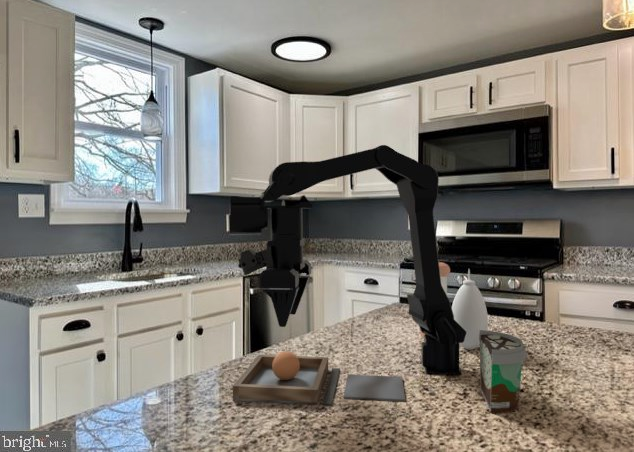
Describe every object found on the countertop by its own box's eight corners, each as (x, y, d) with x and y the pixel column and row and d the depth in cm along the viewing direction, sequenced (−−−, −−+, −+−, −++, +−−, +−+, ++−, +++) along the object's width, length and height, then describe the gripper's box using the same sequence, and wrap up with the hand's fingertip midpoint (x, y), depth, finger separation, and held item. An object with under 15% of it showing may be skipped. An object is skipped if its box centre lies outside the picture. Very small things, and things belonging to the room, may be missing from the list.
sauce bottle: (476, 356, 93) (476, 272, 92) (443, 348, 99) (443, 268, 98) (493, 348, 98) (494, 268, 97) (462, 341, 104) (462, 266, 103)
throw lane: (400, 372, 84) (400, 360, 84) (406, 409, 68) (406, 394, 68) (258, 366, 87) (258, 354, 87) (232, 400, 72) (232, 385, 71)
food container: (536, 420, 64) (537, 353, 64) (492, 417, 65) (492, 350, 65) (516, 387, 76) (516, 330, 76) (478, 385, 77) (479, 329, 77)
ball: (300, 381, 80) (302, 353, 82) (296, 379, 76) (298, 350, 78) (274, 380, 81) (276, 352, 83) (268, 378, 77) (270, 349, 79)
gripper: (257, 232, 89) (258, 308, 89) (226, 236, 70) (227, 333, 71) (311, 231, 87) (312, 309, 88) (294, 236, 69) (295, 334, 69)
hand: (287, 320), depth 79 cm, fingers open, 9 cm apart
